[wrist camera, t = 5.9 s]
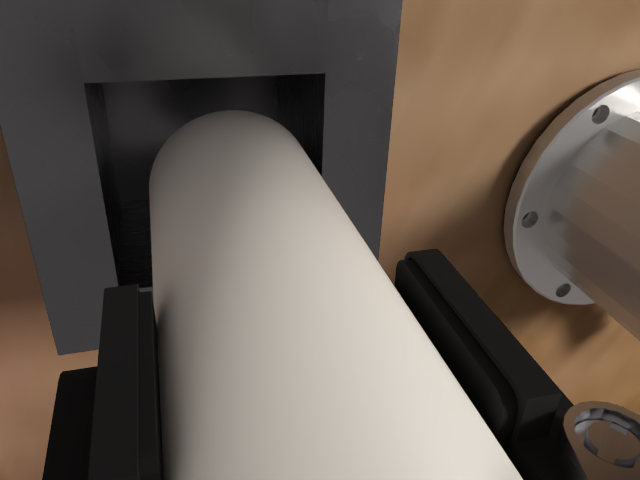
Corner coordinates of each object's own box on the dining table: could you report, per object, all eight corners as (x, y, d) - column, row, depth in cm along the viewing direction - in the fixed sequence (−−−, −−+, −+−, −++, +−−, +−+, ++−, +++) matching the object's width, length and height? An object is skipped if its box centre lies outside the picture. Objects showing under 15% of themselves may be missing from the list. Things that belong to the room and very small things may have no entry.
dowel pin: (309, 249, 18) (524, 687, 8) (158, 266, 17) (188, 796, 7) (312, 105, 16) (616, 462, 6) (139, 114, 15) (142, 574, 5)
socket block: (317, 215, 26) (373, 307, 20) (75, 240, 23) (57, 355, 17) (325, -35, 21) (403, -9, 15) (18, -38, 18) (-33, -7, 12)
